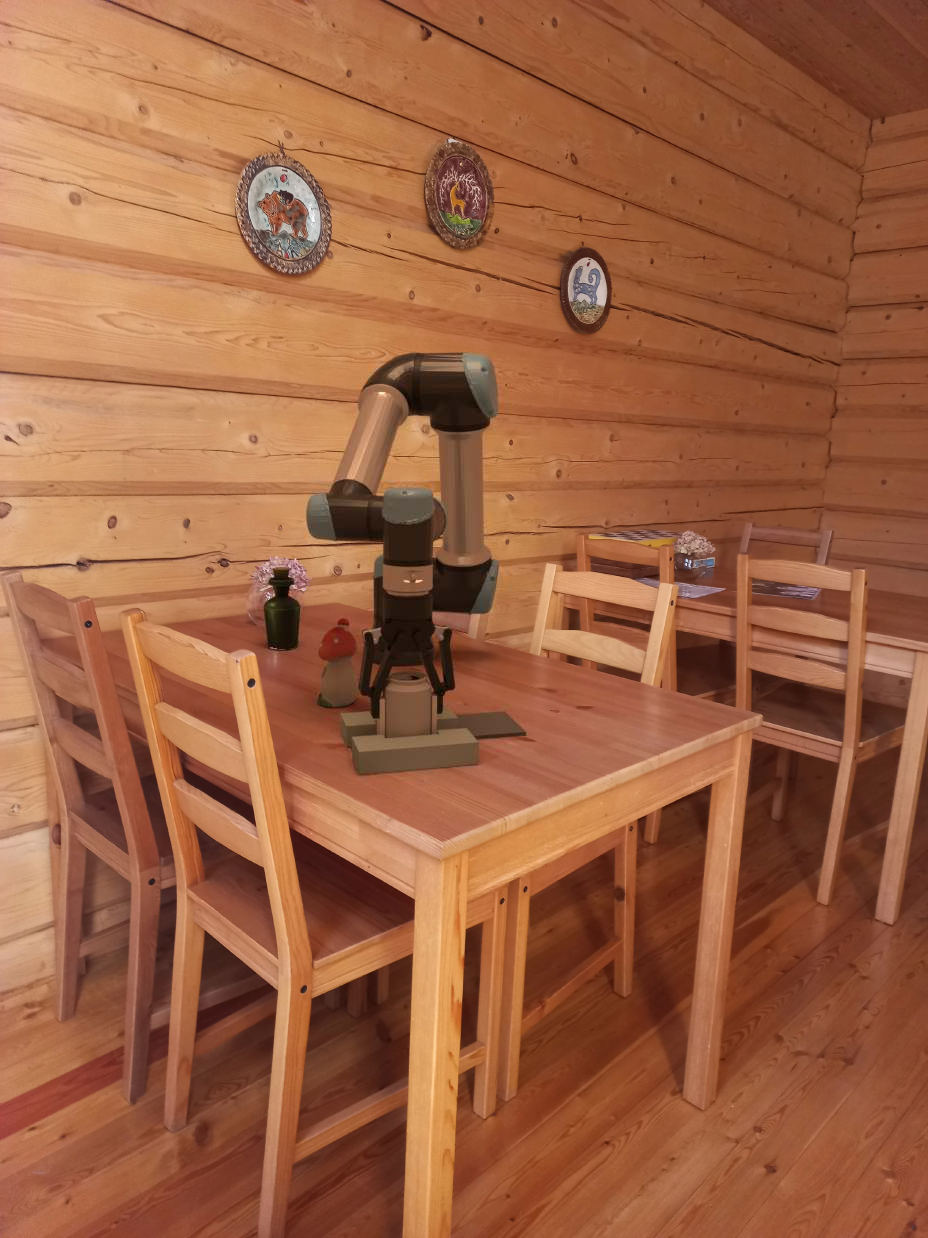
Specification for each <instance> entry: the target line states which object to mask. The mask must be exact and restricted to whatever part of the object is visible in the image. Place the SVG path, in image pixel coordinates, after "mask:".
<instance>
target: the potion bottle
mask: <svg viewBox="0 0 928 1238" xmlns="http://www.w3.org/2000/svg"><path fill="white" fill-rule="evenodd" d="M290 571H291V568H290V567H288V566H275V567H272V572H273V573H272V574H273V577H270V578H268V579H269V580H268V581H267V582H268V583H267V584H268V585H269V586H272V588H273V592H274V596H273V597H271V598H269V599H268V600H266V601H265V603H264V604H263V615H264V622H265V631H266V639H267V640H266V641H267V647H268V646H269V647H273V648H277V649H291V648H295V647H296V648H297V647H298V646H299V632H300V621H301V620H300V619H301V604H300V602H299V601H298V600H297V599H295V598H294V597H293V596H290V595H289V594H290V589H291V586H293V585H295V584H296V581H295V580H294V578H293V577H292V576H290ZM269 647H268V648H269ZM296 648H295V649H296Z"/></svg>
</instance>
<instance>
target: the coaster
mask: <svg viewBox="0 0 928 1238" xmlns="http://www.w3.org/2000/svg"><path fill="white" fill-rule="evenodd" d="M455 715H456V717H457V718H458V729H461V728H467V729H468V730H469V731H470V733H471V734H472V735H473V736H474V737H475V738H476V739H477V740H481V739H482V740H483V739H495V738H497V739H498V738H507V737H520V736H527V731H526V730H525V729H524V728H523V727H522V726H521V725H520V724H519V723H518V722H517V721H516V720H515V719H513V718H512V717H511V716H510V714H508V713H507V712H506V710H505V711H503V710H502V711H491V712H477V713H463V714H461V713H460V714H455Z"/></svg>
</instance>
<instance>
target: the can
mask: <svg viewBox="0 0 928 1238" xmlns="http://www.w3.org/2000/svg"><path fill="white" fill-rule="evenodd" d="M427 678H428V675H427V673H425V672H421V671H417V670H396V671H392V672H390V674H389V676H388V678H387V681H386V683H385V686H384V688H383V691H382V696H383V698H384V699H385V738H396V737H409V736H422V735H431V691H432V685H431V683H430V681H428V680H427Z"/></svg>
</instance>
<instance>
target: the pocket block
mask: <svg viewBox="0 0 928 1238" xmlns="http://www.w3.org/2000/svg"><path fill="white" fill-rule="evenodd" d="M339 714H340V715H339V716H340V718H339V719H340V721H339V722H340V725H339V726H340V727H339V728H340V735H341V736H340V737H342V740H343V742H344V745H345V746H346V748H351V760H352V762H353V765H354V767H355V769H356V771H357V773H358V775H359V776H360V775H361V776H362V775H372V774H375V775H376V774H383V773H384V774H386V773H398V772H406V771H418V770H419V771H420V770H428V769H431V770H432V769H439V768H440V769H441V768H451V767H463V766H474V765H479V757H480V756H479V755H480V754H479V752H480V751H479V749H480V747H479V746H480V742H479V741H478V739H476V738H475V737H474V736H473V735H472V734H471V733H470V731H469V730H468V729H467V728H461V729H458V718H457V717H456V715H457V714H455V713H454V712H453V710H451V708H450V707H449V706H448V705H443V712H442V714H437V733H436V734H435V735H422V736H409V737H396V738H385V737H384V736H383V735H377V719H373V718H372V716H371V713H370V710H369V711H368V710H367V711H354V712H340V713H339Z"/></svg>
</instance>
